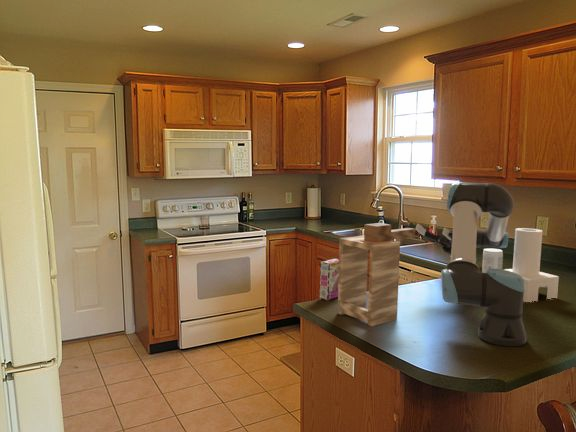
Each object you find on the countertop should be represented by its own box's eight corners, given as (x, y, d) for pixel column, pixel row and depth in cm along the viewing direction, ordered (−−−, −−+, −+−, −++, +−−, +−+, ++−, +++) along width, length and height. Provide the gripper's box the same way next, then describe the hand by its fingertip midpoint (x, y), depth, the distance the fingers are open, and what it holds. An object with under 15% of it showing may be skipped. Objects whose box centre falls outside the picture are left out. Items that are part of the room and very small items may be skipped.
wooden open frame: (396, 319, 183) (400, 241, 179) (371, 326, 174) (374, 245, 171) (362, 307, 197) (364, 235, 193) (337, 313, 188) (339, 238, 185)
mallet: (405, 234, 193) (406, 220, 192) (417, 236, 188) (418, 221, 188) (364, 240, 179) (364, 224, 178) (376, 242, 174) (376, 226, 173)
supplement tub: (496, 275, 254) (498, 248, 252) (505, 280, 245) (507, 251, 243) (478, 275, 254) (480, 248, 252) (486, 279, 244) (488, 251, 243)
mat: (394, 241, 179) (394, 240, 179) (376, 244, 173) (376, 243, 173) (378, 238, 185) (378, 237, 185) (360, 241, 179) (360, 240, 179)
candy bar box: (328, 301, 205) (329, 263, 203) (319, 299, 208) (319, 261, 206) (342, 295, 213) (343, 259, 211) (333, 293, 216) (334, 257, 214)
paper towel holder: (492, 291, 223) (496, 228, 219) (521, 287, 230) (526, 226, 227) (526, 303, 206) (531, 234, 202) (557, 298, 213) (562, 231, 210)
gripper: (476, 260, 205) (452, 240, 192) (427, 251, 224) (403, 232, 212) (482, 245, 206) (459, 223, 194) (433, 237, 226) (409, 217, 213)
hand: (430, 228), depth 203 cm, fingers open, 13 cm apart
